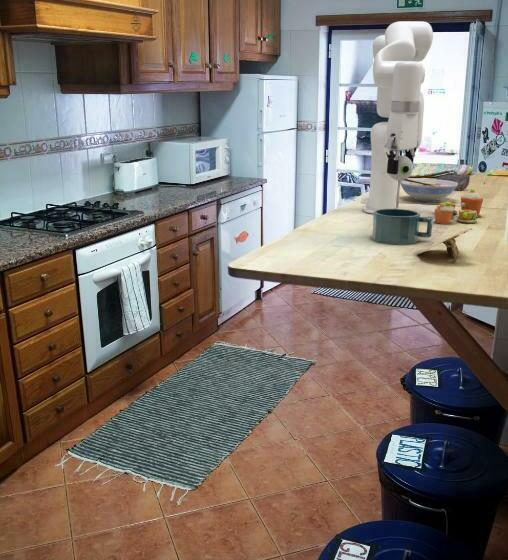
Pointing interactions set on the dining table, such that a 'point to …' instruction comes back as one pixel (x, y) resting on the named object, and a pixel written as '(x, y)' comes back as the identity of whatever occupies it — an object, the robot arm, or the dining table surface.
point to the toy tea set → (468, 211)
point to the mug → (399, 226)
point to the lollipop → (402, 172)
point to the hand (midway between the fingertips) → (399, 172)
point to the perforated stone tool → (457, 180)
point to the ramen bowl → (428, 188)
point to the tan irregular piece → (452, 245)
